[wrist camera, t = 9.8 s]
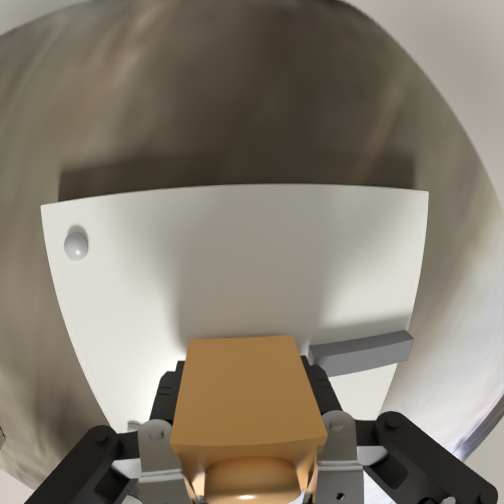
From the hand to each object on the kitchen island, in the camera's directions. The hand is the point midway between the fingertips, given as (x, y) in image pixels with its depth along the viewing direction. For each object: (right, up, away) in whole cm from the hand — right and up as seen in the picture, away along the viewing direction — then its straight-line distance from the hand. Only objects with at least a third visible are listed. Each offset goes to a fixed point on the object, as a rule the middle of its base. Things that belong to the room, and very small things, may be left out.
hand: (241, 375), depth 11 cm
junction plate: (0, +1, +2) cm, 2 cm away
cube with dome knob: (0, 0, +1) cm, 1 cm away
